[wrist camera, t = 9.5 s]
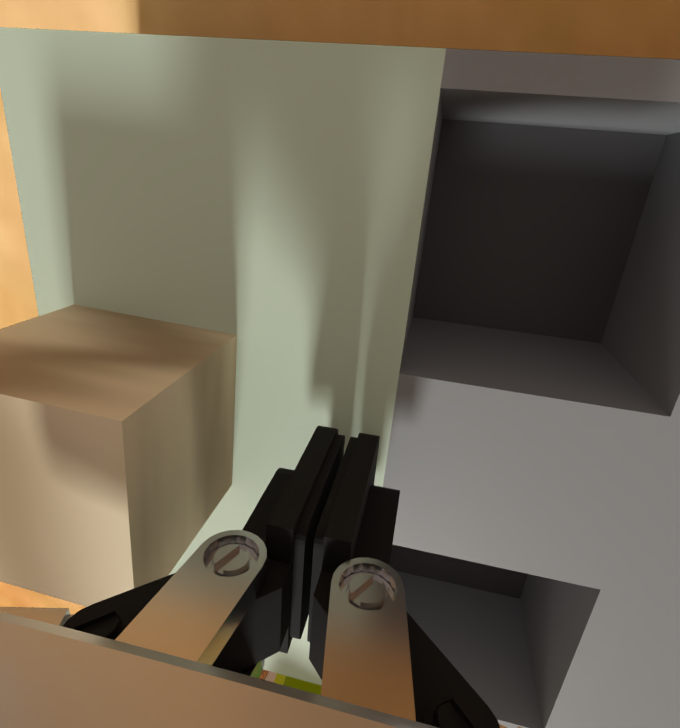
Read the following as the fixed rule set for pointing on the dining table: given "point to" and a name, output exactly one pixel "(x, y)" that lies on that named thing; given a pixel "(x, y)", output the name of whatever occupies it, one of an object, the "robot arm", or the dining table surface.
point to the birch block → (109, 448)
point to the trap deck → (408, 313)
